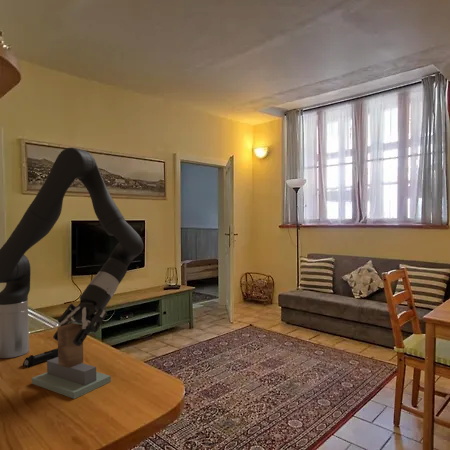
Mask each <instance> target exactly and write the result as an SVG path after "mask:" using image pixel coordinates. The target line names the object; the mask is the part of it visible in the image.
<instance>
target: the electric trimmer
mask: <svg viewBox="0 0 450 450" xmlns="http://www.w3.org/2000/svg"><path fill="white" fill-rule="evenodd" d="M56 357H58V347H57V348H54V349H51V350H47V351H44V352H42V353H39V354H36V355H33V354H31V355H29V356H27V357H25V359H24V360H23V363H22V367H24V368H32V367H33V366H34V365H37V364H40V363H43V362H45V361H46V362H47V361H48V360H51V359H54V358H56Z"/></svg>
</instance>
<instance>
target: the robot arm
mask: <svg viewBox="0 0 450 450" xmlns="http://www.w3.org/2000/svg"><path fill="white" fill-rule="evenodd" d="M76 179H78V180H79V181H80V182H81V184H83V186H84V187H85V189H86V190H87V192H88V194H89V197H90V200H91V203H92V204H91V205H92V207H93V211H94V215H95V216H96V218H97V220H98V221H99V223H100V225H101V227H102V228H103V229H104V231H105V233H106V234H107V235H108V236H113V237H114V238H115V239H116V240H117V242H118V243H117V244H116V245H115V247H114V249H113V250H112V251H111V253H110V254H109V257H108V259H107V260H106V261H105V263H104V264H103V265H102V266H101V268H100V270H99V271H98V272H97V274H96V275H94V277H93V278H92V279H91V281H90V282H89V283H88V285H87V286H86V288H85V289H84V290H83V292H82V293H81V294H80V297H79V301H80V302H79V304H78V305H74V304H73V303H70V304H69V305H68V307H67V308H66V309H65V311H63V313H62V314H61V316H60V317H59V318H58V320H57V322H58V323H59V325H60V326H64V325H67V324H71V323H74V324H82V329H83V330H82V329H81V330H80V331H79V333H78V334H77V336H76V337H75V339H74V340H73V343H74V344H75V345H77V346H80V345H81V344H82V343H83V344H84V341H85V340H86V338H87V336H88V335H90V334H92V333H97V332H98V331H99V328H100V326H101V325H102V323H103V322H104V320H105V319H106V317H107V315H108V313H107V312H106V310H105V309H106V308H107V306H108V303H110V301H111V300H112V298H113V296H114V295H115V293H116V291H117V289H118V287H119V285H120V284H121V282H122V281H123V280H124V278H125V276H126V274H127V272H128V267H129V266H130V264H131V263H132V262H133V260H134V259H135V258H137V257H138V256H139V255H141V254H142V252H143V251H144V247H145V246H144V242H143V239H142V237H141V236H140V234H139V233H138V232H137V231H136V230H135V229H134V228H133V227H132V226H131V225H130V224H129V223H128V222H127V221H126V218H125V216H123V214H122V212H121V211H120V209H119V207H118V205H117V204H116V202H115V201H114V199H113V198H112V197H113V196H111V193H110V191H109V190H108V188H107V185H106V183H105V181H104V178H103V177H102V173H101V172H100V168H99V166H98V164H97V162H96V159H95V157H94V156H93V155H92V154H91V153H90V152H89V151H86V150H83V149H80V148H75V147H68V148H65V149H63V150H62V151H60V153H59V154H58V155H57V157H56V159H55V160H54V162H53V164H52V167H51V169H50V171H49V173H48V176H47V178H46V179H45V181H44V182H43V184H42V186H41V187H40V189H39V190H38V192H37V194H36V196H35V197H34V199H33V200H32V201H31V203H30V204H29V206H28V207H27V209H26V211H25V212H24V214H23V216H22V217H21V219H20V221H19V222H18V224H17V225H16V226H15V228H14V230H13V231H12V232H11V234H10V236H9V237H8V238H7V240H5V242H4V244H3V245H2V246H1V248H0V284H5V287H3V289H2V290H1V291H0V359H10V358H16V357H20V356H24V355H26V354H27V353H29V352H30V337H29V336H30V333H29V332H30V331H29V330H30V328H29V326H30V325H29V294H30V290H31V273H32V272H31V270H32V269H31V263H30V260H29V259H28V257H27V255H26V253H27V252H28V250H29V249H31V248H32V247H33V246H35V245H36V244H38V243H39V242H40V241H41V240H43V238H45V237H46V236H47V235H48V234H49V233H50V232H51V230H52V229H53V228H54V226H55V225H56V223H57V221H58V220H59V218H60V216H61V213H62V208H63V202H64V198H65V195H66V193H67V191H68V189H70V187H71V185H72V184H73V183H74V181H75V180H76ZM60 326H59V327H60ZM52 338H53V339H54V340H55V341H56V342H58V331H57V330H56V332H55V333H54V334H53V337H52Z"/></svg>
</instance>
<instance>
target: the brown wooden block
mask: <svg viewBox="0 0 450 450" xmlns="http://www.w3.org/2000/svg"><path fill="white" fill-rule="evenodd" d="M82 326H83V324H80V323H78V324H74V323H71V324H69V323H68V324H67V325H64V326H57V329H56V331H58V341H57V348H58V365H60V366H63V367H67V368H70V367H73V366H75V365H78V364H80V363H84V342H83V343H82V344H81V345H80V346H77V345H75V344H74V343H73V340H74V339H75V337H76V336H77V334H78V333H79V331H80V330H81V329H82ZM82 330H83V329H82Z"/></svg>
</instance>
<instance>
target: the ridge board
mask: <svg viewBox="0 0 450 450" xmlns="http://www.w3.org/2000/svg"><path fill="white" fill-rule="evenodd" d="M111 382H112V376H111V375H109V374H105V373H102V372H99V371H97V366H94V365H91V364H87V363H84V362H83V363H80V364H78V365H75V366H73V367H70V368H67V367H63V366H60V365H58V357H56V358H54V359H49V360H46V372H44V373H41V374H39V375H36V376H32V378H31V384H33V385H34V386H37V387H40V388H44V389H45V390H49V391H52V392H55V393H56V394H60V395H62V396H65V397H68V398H71V399H73V400H74V399H77V398H79V397H81V396H84V395H85V394H88V393H90V392H92V391H94V390H96V389H98V388H101V387H102V386H104V385H106V384H109V383H111Z"/></svg>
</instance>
